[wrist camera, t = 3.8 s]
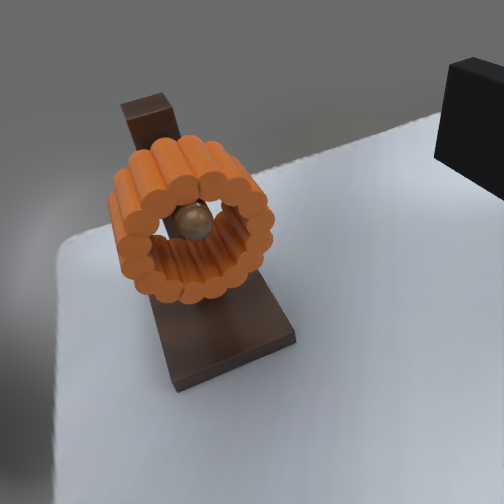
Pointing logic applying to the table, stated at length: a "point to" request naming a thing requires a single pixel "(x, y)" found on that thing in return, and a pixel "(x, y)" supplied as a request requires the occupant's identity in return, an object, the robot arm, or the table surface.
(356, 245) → the table surface
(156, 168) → the tape roll
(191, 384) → the stand
